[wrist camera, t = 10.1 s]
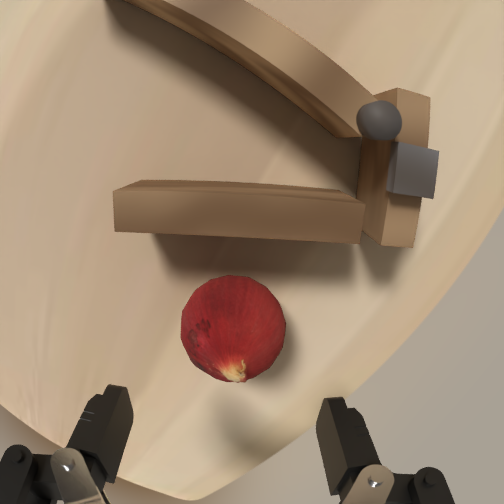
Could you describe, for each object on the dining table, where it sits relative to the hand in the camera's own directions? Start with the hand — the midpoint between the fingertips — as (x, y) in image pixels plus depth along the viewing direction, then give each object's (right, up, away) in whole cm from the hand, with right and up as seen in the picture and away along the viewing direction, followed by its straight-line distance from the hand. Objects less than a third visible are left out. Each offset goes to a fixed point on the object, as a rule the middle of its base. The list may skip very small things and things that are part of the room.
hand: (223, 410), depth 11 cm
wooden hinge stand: (+2, +12, +6) cm, 14 cm away
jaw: (-1, +19, +3) cm, 19 cm away
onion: (0, +3, +9) cm, 10 cm away
